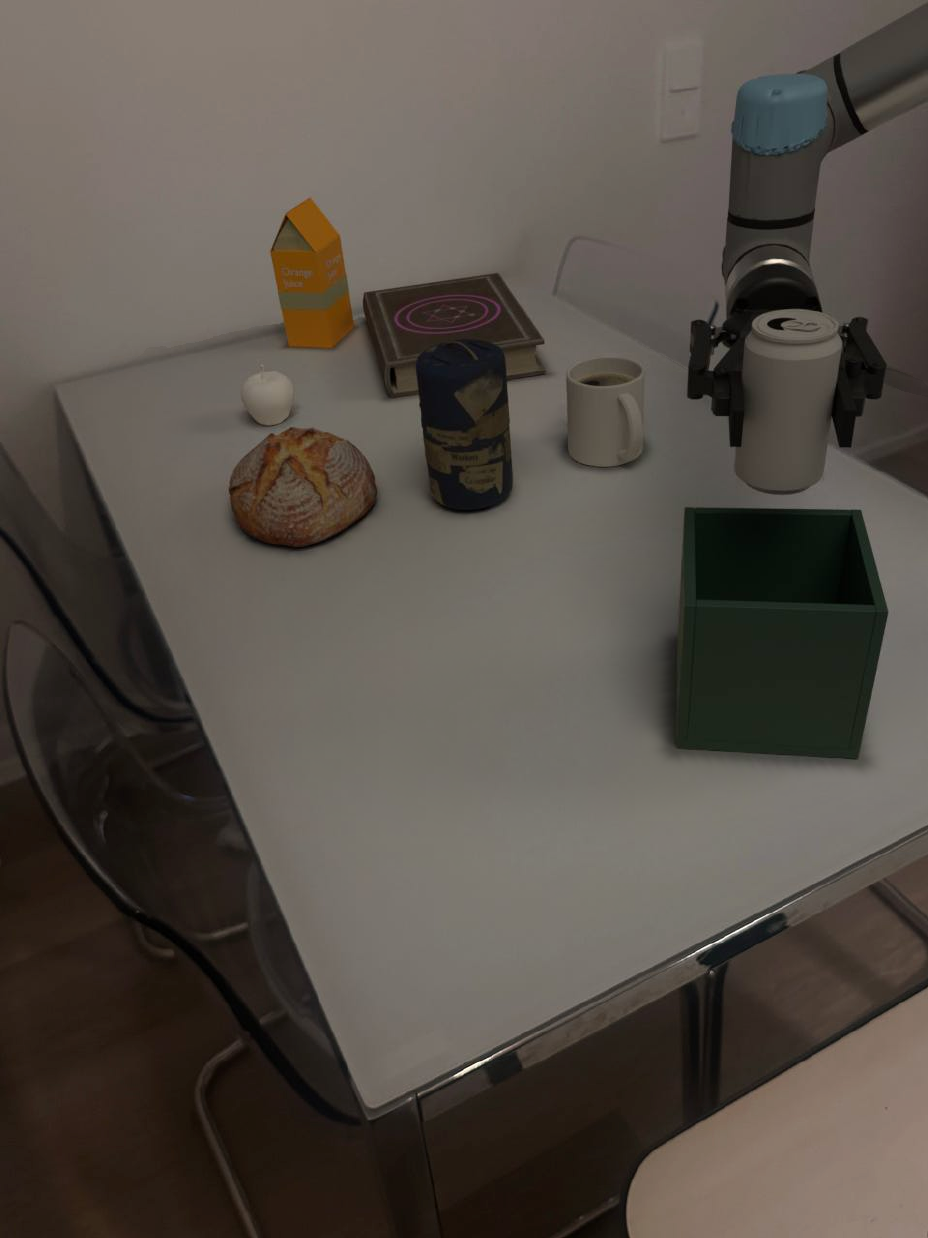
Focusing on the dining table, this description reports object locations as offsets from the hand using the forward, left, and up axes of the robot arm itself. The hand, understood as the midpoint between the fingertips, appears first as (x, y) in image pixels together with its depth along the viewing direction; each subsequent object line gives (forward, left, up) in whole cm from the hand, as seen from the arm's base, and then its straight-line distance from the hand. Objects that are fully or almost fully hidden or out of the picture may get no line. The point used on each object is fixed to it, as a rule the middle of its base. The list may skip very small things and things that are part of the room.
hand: (791, 428), depth 67 cm
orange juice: (+73, -74, -25) cm, 107 cm away
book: (+51, -72, -25) cm, 91 cm away
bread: (+52, -24, -25) cm, 62 cm away
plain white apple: (+67, -45, -25) cm, 84 cm away
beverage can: (+1, -5, -7) cm, 8 cm away
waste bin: (0, -2, -25) cm, 25 cm away
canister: (+34, -30, -25) cm, 52 cm away
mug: (+21, -42, -25) cm, 53 cm away
